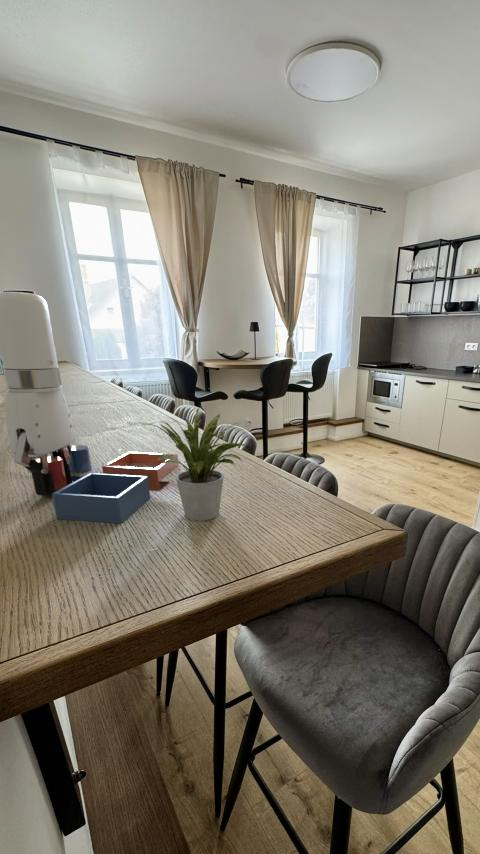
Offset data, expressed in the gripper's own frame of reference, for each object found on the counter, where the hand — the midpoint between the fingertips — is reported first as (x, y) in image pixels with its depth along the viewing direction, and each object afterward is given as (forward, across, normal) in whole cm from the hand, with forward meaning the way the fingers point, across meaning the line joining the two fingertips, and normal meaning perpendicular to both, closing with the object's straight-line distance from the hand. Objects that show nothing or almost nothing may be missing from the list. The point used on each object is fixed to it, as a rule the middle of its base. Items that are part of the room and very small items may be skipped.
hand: (55, 488), depth 71 cm
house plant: (+1, +6, +27) cm, 28 cm away
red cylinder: (+1, 0, 0) cm, 1 cm away
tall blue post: (+1, -8, 0) cm, 8 cm away
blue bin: (+1, +5, +12) cm, 13 cm away
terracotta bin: (+1, -9, +12) cm, 15 cm away
